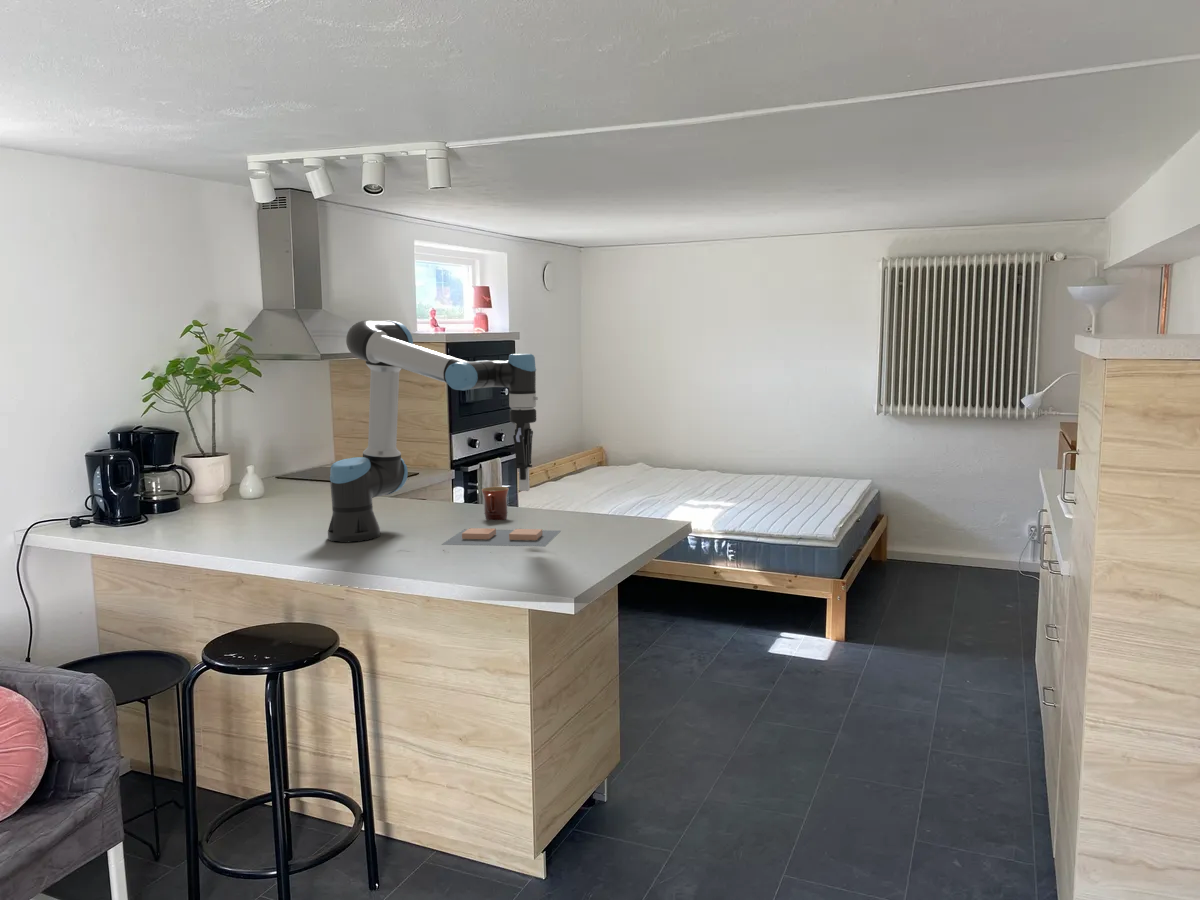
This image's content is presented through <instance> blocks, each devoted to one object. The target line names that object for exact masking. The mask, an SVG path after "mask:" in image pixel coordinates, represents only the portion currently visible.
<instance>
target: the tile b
mask: <svg viewBox="0 0 1200 900" xmlns="http://www.w3.org/2000/svg"><path fill="white" fill-rule="evenodd" d="M513 530H514V531H512V532H511V533H510V534H509V540H530V541H536V540H537V539H538V538H539V537H541V536H542V530H543V529H542V528H541V529H540V528H515V529H513Z"/></svg>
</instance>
